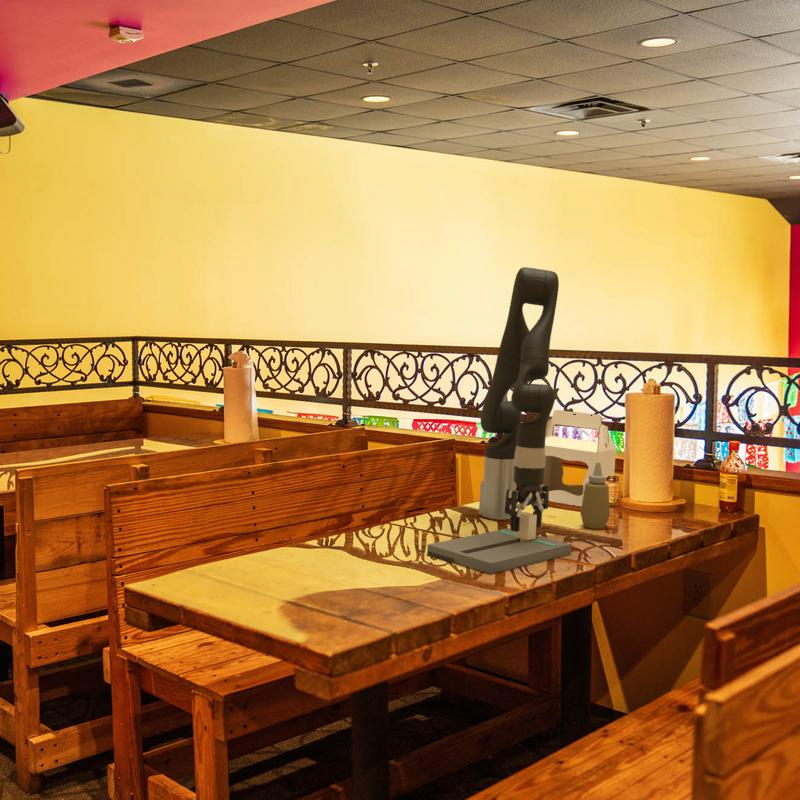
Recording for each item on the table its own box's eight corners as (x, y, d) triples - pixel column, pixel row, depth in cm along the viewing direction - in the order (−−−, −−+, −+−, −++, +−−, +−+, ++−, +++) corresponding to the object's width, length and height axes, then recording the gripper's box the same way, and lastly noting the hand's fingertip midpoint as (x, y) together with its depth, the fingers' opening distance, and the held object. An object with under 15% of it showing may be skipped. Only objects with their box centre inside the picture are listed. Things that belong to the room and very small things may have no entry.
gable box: (613, 503, 304) (619, 414, 301) (594, 509, 294) (600, 417, 291) (550, 492, 317) (555, 407, 315) (530, 498, 307) (535, 410, 304)
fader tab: (514, 542, 242) (516, 513, 242) (522, 540, 245) (524, 511, 244) (527, 545, 240) (529, 516, 239) (535, 544, 242) (536, 514, 241)
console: (427, 554, 232) (427, 543, 232) (507, 537, 253) (508, 527, 253) (490, 574, 218) (491, 562, 218) (570, 554, 239) (571, 543, 239)
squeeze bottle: (611, 531, 266) (616, 466, 264) (582, 529, 266) (586, 464, 264) (606, 524, 274) (610, 461, 272) (577, 523, 274) (581, 460, 272)
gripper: (535, 459, 248) (531, 522, 249) (499, 464, 238) (495, 529, 239) (559, 464, 242) (555, 528, 244) (523, 469, 232) (519, 535, 234)
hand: (525, 528), depth 242 cm, fingers open, 8 cm apart
